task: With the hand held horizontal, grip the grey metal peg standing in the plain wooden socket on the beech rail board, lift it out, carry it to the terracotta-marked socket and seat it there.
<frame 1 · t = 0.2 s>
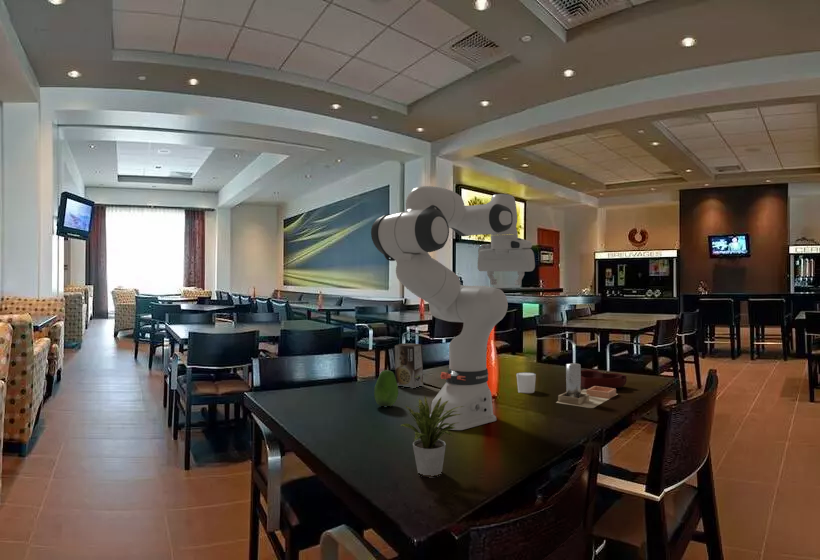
hand: (505, 285, 169), 39 cm above the table, tool pointing down, fingers open, 8 cm apart
house plant: (430, 476, 106), on the table
rail board: (587, 400, 168), on the table
coffee box: (409, 386, 194), on the table
peg: (573, 401, 164), point 1 cm above the table, touching rail board
ashtray: (596, 388, 188), on the table
white cup: (526, 394, 179), on the table
marked socket: (601, 397, 172), resting on rail board
avocado: (386, 407, 163), on the table
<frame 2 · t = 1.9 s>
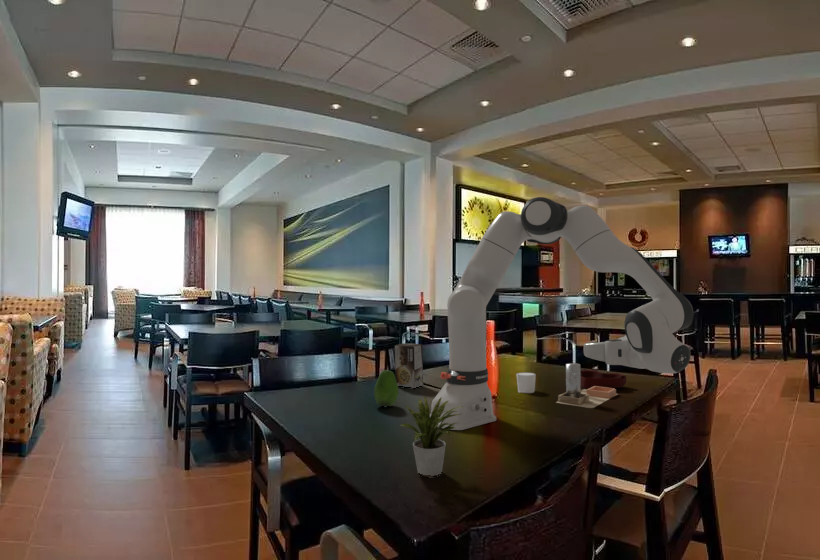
hand: (598, 345, 153), 20 cm above the table, tool horizontal, fingers open, 8 cm apart
nothing on the table moved.
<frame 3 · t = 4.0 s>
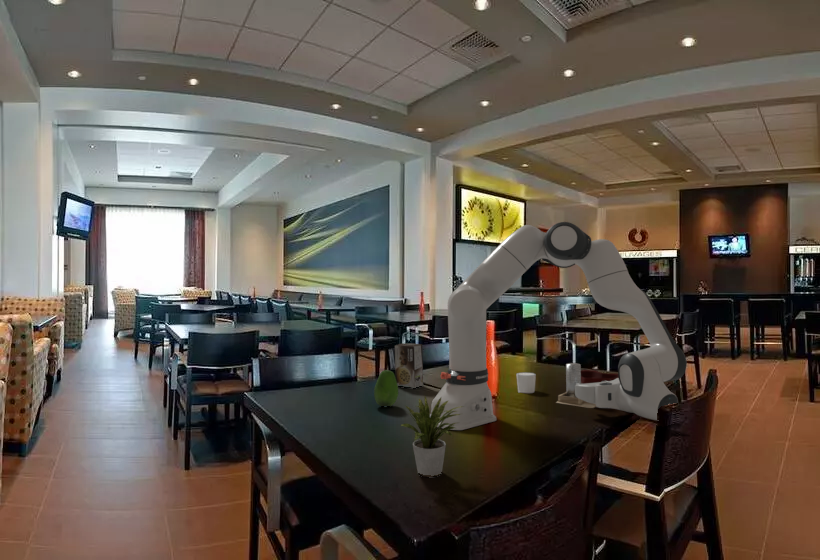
hand: (590, 384, 156), 8 cm above the table, tool horizontal, fingers open, 8 cm apart
nothing on the table moved.
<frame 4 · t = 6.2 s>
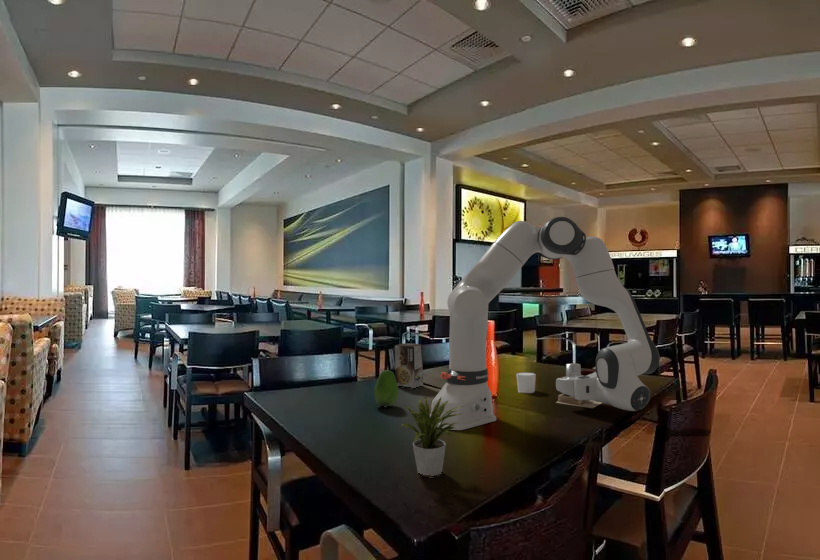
hand: (571, 378, 165), 8 cm above the table, tool horizontal, fingers closed on peg, 4 cm apart
peg: (573, 401, 164), point 1 cm above the table, touching gripper, rail board
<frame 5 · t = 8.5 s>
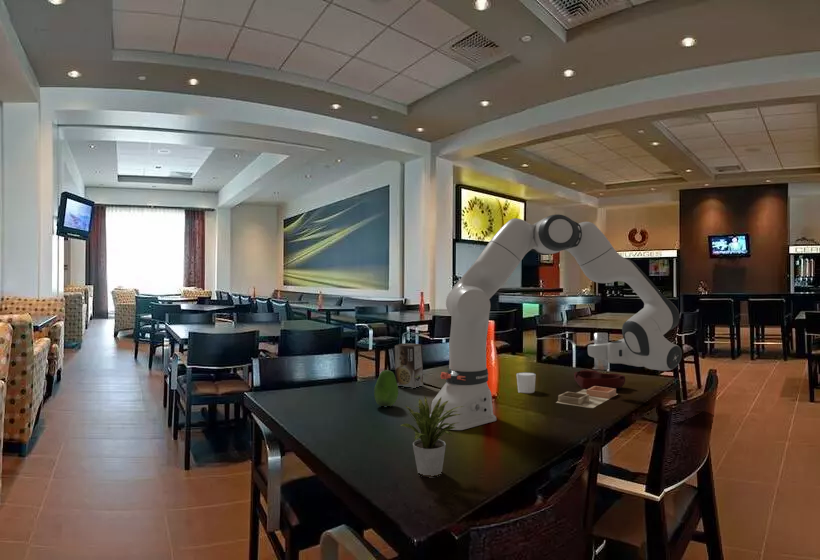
hand: (599, 346, 173), 17 cm above the table, tool horizontal, fingers closed on peg, 4 cm apart
peg: (601, 368, 172), point 10 cm above the table, touching gripper
when the fingers open (9 cm above the table, at t = 10.7 s): peg stays where it is, resting on marked socket.
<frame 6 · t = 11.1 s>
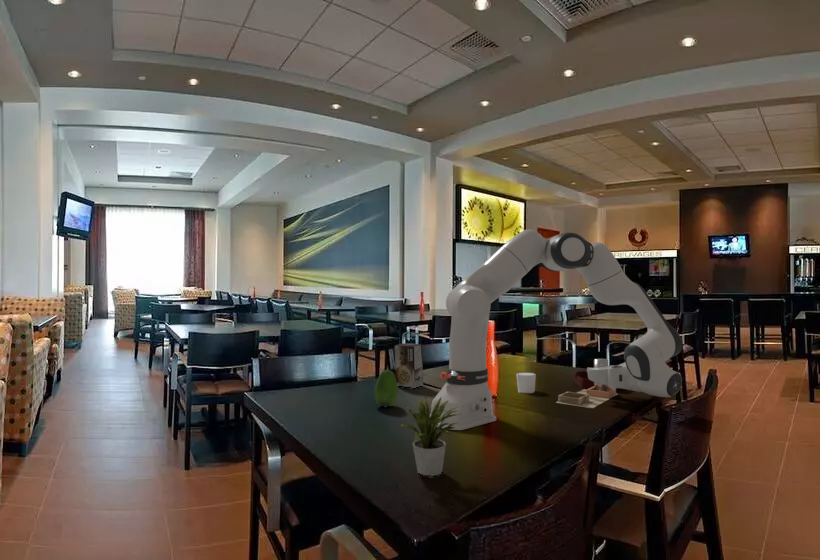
hand: (599, 368, 173), 10 cm above the table, tool horizontal, fingers open, 8 cm apart
peg: (601, 394, 172), point 1 cm above the table, touching marked socket
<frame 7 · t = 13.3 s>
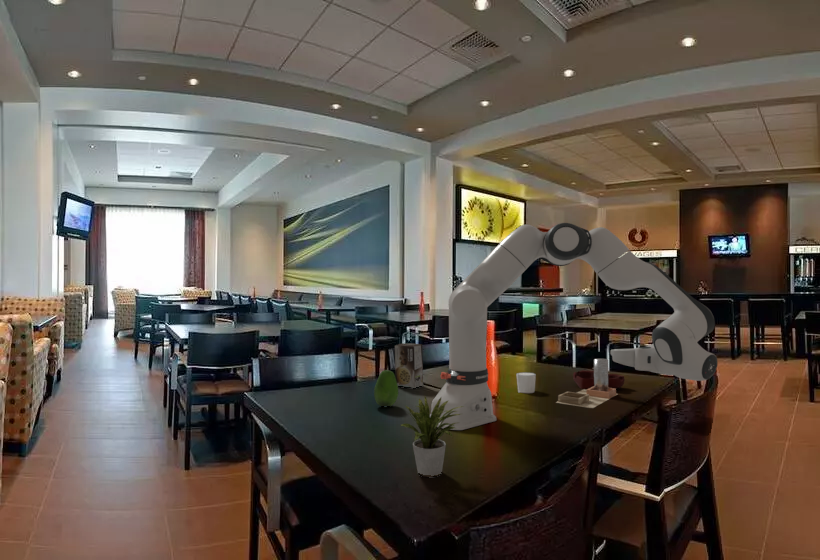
hand: (623, 351, 161), 17 cm above the table, tool horizontal, fingers open, 8 cm apart
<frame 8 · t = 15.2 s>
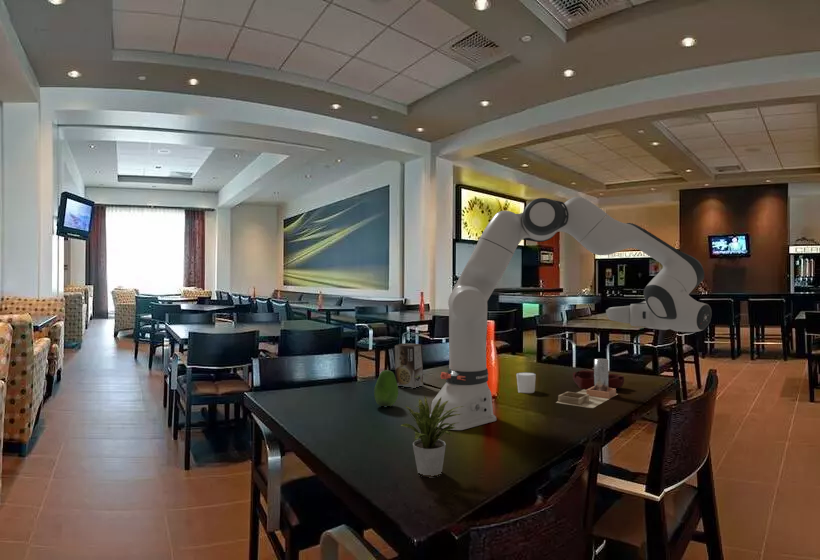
hand: (618, 311, 162), 30 cm above the table, tool horizontal, fingers open, 8 cm apart
at the end: peg 0.1 cm off-centre on the marked socket, point 0.9 cm above the marked socket's base; peg tilted 1°; the gripper is holding nothing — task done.
